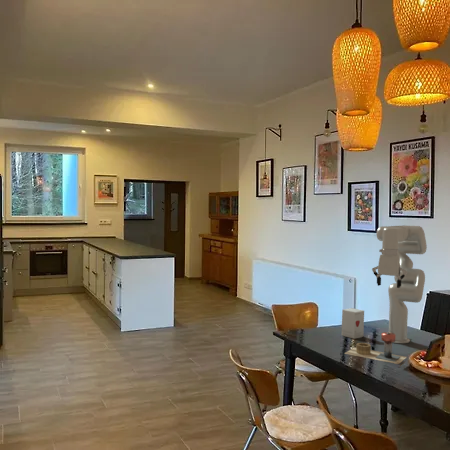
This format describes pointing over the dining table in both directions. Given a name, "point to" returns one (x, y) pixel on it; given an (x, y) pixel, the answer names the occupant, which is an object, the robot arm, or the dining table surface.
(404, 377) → the dining table surface
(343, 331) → the supplement box
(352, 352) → the board
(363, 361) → the dining table surface
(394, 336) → the peg
